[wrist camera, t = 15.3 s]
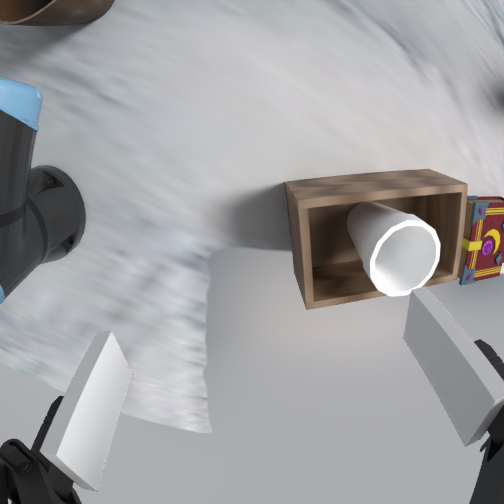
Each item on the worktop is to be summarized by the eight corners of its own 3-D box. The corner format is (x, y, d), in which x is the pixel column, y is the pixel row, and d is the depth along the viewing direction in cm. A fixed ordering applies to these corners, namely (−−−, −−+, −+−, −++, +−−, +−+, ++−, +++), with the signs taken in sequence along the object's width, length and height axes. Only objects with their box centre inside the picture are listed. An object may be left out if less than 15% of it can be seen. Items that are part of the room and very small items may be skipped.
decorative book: (500, 194, 43) (517, 202, 38) (486, 271, 50) (500, 283, 45) (459, 195, 43) (477, 203, 38) (446, 279, 50) (460, 292, 45)
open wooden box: (294, 272, 47) (306, 309, 38) (284, 181, 42) (297, 200, 32) (424, 251, 47) (456, 279, 38) (428, 169, 41) (467, 184, 32)
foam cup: (403, 228, 44) (448, 266, 32) (356, 262, 46) (389, 310, 34) (376, 178, 41) (423, 203, 29) (324, 214, 43) (355, 253, 31)
